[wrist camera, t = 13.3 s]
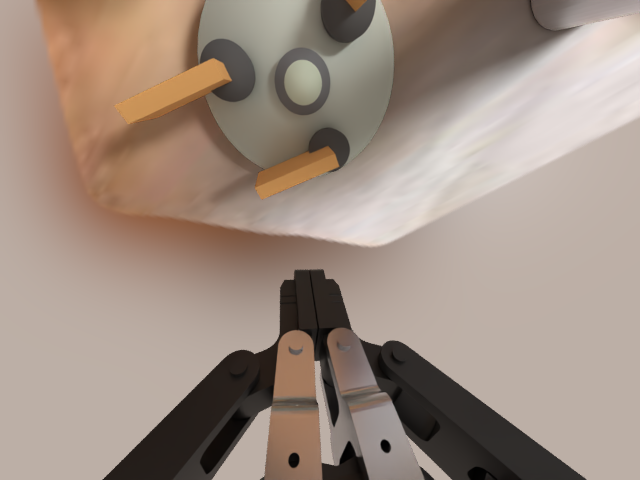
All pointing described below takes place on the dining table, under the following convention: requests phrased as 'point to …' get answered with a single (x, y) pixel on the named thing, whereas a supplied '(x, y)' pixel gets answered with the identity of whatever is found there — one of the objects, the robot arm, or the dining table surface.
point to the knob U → (347, 18)
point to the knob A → (196, 83)
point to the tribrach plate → (299, 77)
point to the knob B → (306, 163)
